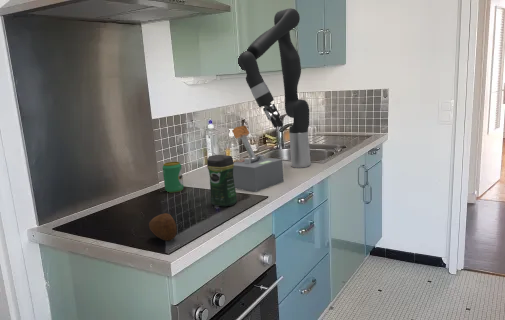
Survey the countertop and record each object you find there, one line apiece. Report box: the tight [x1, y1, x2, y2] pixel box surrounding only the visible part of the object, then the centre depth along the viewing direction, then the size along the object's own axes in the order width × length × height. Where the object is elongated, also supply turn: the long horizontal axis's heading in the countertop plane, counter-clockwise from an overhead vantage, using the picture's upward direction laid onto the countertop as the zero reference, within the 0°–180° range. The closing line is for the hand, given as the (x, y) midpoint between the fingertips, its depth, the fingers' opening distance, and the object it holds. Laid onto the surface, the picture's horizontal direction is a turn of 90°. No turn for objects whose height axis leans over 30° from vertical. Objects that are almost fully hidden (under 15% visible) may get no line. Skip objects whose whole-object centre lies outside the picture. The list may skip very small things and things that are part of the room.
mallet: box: [231, 125, 260, 163], centre depth 182 cm, size 6×3×16 cm
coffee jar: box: [206, 154, 238, 207], centre depth 156 cm, size 10×8×19 cm
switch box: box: [233, 154, 285, 193], centre depth 182 cm, size 18×16×12 cm
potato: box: [148, 212, 178, 242], centre depth 126 cm, size 7×10×8 cm
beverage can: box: [162, 161, 184, 194], centre depth 182 cm, size 8×8×12 cm
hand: (278, 126), depth 191 cm, fingers open, 8 cm apart
